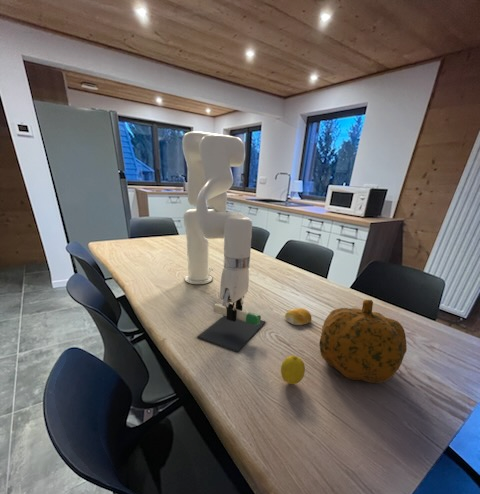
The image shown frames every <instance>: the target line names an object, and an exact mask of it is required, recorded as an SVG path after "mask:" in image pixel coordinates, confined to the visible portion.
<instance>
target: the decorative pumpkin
mask: <svg viewBox="0 0 480 494" xmlns="http://www.w3.org/2000/svg"><path fill="white" fill-rule="evenodd" d="M373 306H374V301H373V300H372V299H364V300H363V301H362V307H361V308H357V307H356V308H354V307H350V308H348V307H339V308H336V309H333V310H331V311H330V313H329V314H328V315H327V317H326V318H325V320H324V321H323V324H322V327H321V335H320V338H319V343H318V344H319V352H320V355H321V357H322V359H323V360H324V361H325V362H326V363H328V364H329V365H330V366H331V367H333V368H334V369H335V370H337V371H339V372H340V374H342V375H343V376H344V377H345V378H347V379H349V380H352V381H353V380H354V381H356V380H357V381H364V382H367V383H371V384H380V383H384V382H387V381H388V380H390V379H391V378H392V377H393V376H394V375H395V374H396V373H397V371H398V370H399V369H400V368H401V365H402V362H403V360H404V357H405V354H406V352H407V347H408V346H407V336H406V332H405V329H404V327H403V325H402V324H401V323H400V322H399V321H398V320H395V319H392V318H389V317H386V316H384V315H383V314H381V313H379V312H375V311H373Z"/></svg>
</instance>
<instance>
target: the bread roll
mask: <svg viewBox="0 0 480 494" xmlns="http://www.w3.org/2000/svg"><path fill="white" fill-rule="evenodd" d="M284 318H285V319H284V320H286V321H287V322H288V323H289V324H292V325H294V326H303V325H306V324H309V323H311V322H312V314H311V312H310V311H308V310H307V309H305V308H295V309H290V310H288V311H286V312H285V314H284Z"/></svg>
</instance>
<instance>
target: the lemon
mask: <svg viewBox="0 0 480 494" xmlns="http://www.w3.org/2000/svg"><path fill="white" fill-rule="evenodd" d="M281 363H282V364H281V366H280V375H281V378H282V379H283V381H284V382H286V383H287V384H289V385H296V384H298V383H299V384H300V382H301V381H302V380H303V379H304V376H305V372H306V368H305V363H304V361H303V360H302V358H301V357H299V356H297V355H289V356H286V357H285V358H284V360H283V361H282V362H281Z"/></svg>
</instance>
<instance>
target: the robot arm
mask: <svg viewBox="0 0 480 494" xmlns="http://www.w3.org/2000/svg"><path fill="white" fill-rule="evenodd" d="M181 144H182V152H183V157H184V160H185V162H186V168H187V201H188V204H189V205H190V206H192V207H195V208H190V209H187V210H186V211H184V214H183V223H184V224H183V225H184V229H185V236H186V255H187V256H186V257H187V274H186V275H185V276H184V281H185V282H186V283H188V284H192V285H205V284H209V283H210V282H212V281H213V277H212V275H210V273H212V272H214V268H213V267H212V266H211V267H209V265H210V263H209V260H210V259H209V256H210V255H209V253H210V252H209V249H210V248H209V247H210V246H209V240H220V239H222V240H223V268H222V271H221V275H220V286H219V300H222V304H221V305H222V306H225V307H226V309H227V320H230V321H234V322H235V321H236V315H237V310H236V309H238V310H242V311H243V306H244V299H245V296H246V295H247V293H248V292H249V283H250V282H249V281H250V270H249V269H250V265H251V264H250V263H251V250H252V237H253V236H252V235H253V234H252V233H253V221H252V219H251V218H250V217H248V216H245V214H243V213H242V212H239V211H227V204H228V203H227V202H228V191H229V190H230V189H231V188H232V186H233V184H234V176H233V172H232V167H233V168H238V167H242V166H243V164H244V162H245V160H246V149H245V148H246V146H245V144H244V142H243V140H242V139H241V138H240V137H238V136H234V135H228V134H221V133H220V134H219V133H212V132H205V131H188V132H186V133H184V135H183V136H182V143H181Z"/></svg>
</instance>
